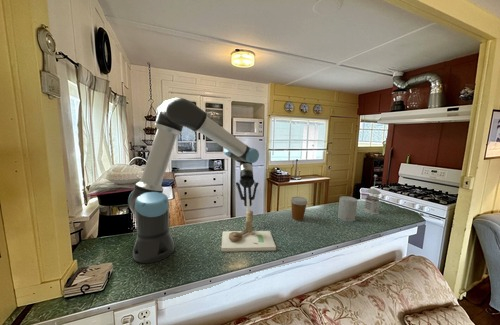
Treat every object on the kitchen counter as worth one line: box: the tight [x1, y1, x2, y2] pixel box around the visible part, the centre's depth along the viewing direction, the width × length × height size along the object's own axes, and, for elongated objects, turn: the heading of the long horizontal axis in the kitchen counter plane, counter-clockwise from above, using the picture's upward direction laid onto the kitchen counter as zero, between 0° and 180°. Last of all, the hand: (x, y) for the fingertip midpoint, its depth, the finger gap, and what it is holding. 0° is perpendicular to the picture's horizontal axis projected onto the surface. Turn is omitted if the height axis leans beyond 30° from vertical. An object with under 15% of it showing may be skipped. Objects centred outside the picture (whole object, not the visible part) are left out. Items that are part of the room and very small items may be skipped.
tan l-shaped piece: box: [229, 209, 255, 241], centre depth 93 cm, size 15×6×10 cm, turn 135°
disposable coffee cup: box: [290, 196, 308, 222], centre depth 117 cm, size 10×10×12 cm
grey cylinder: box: [337, 195, 358, 223], centre depth 120 cm, size 10×10×12 cm
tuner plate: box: [220, 230, 277, 252], centre depth 91 cm, size 23×14×2 cm, turn 95°
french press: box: [362, 174, 382, 215], centre depth 130 cm, size 10×12×25 cm
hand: (248, 211), depth 103 cm, fingers closed
